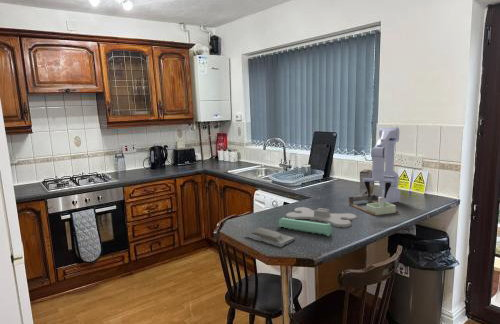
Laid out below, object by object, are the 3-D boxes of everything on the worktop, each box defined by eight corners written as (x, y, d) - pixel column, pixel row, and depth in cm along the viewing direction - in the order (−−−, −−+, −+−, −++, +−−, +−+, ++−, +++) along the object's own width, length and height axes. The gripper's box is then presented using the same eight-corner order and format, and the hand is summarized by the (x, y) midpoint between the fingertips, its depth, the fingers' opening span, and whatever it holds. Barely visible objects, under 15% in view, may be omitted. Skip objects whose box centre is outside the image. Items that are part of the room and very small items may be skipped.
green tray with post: (385, 208, 181) (385, 194, 180) (395, 212, 173) (395, 197, 172) (366, 211, 178) (366, 196, 176) (375, 215, 170) (375, 200, 169)
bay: (369, 202, 196) (369, 193, 196) (397, 213, 174) (398, 203, 173) (346, 205, 192) (346, 195, 192) (372, 217, 170) (372, 206, 169)
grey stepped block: (280, 249, 136) (280, 241, 136) (245, 238, 150) (244, 230, 149) (295, 241, 144) (295, 233, 143) (259, 231, 157) (259, 224, 157)
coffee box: (364, 193, 217) (364, 169, 214) (374, 195, 213) (374, 170, 210) (359, 196, 210) (359, 171, 207) (369, 198, 206) (369, 172, 203)
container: (277, 215, 159) (328, 222, 146) (283, 217, 164) (332, 223, 150) (275, 228, 158) (326, 236, 144) (281, 229, 163) (330, 237, 149)
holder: (347, 229, 155) (347, 219, 154) (282, 219, 174) (282, 209, 173) (359, 218, 171) (359, 208, 170) (298, 209, 190) (298, 201, 189)
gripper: (362, 170, 167) (361, 197, 168) (394, 171, 162) (393, 199, 163) (363, 169, 174) (361, 195, 174) (393, 170, 169) (391, 197, 170)
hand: (376, 197), depth 169 cm, fingers open, 7 cm apart
